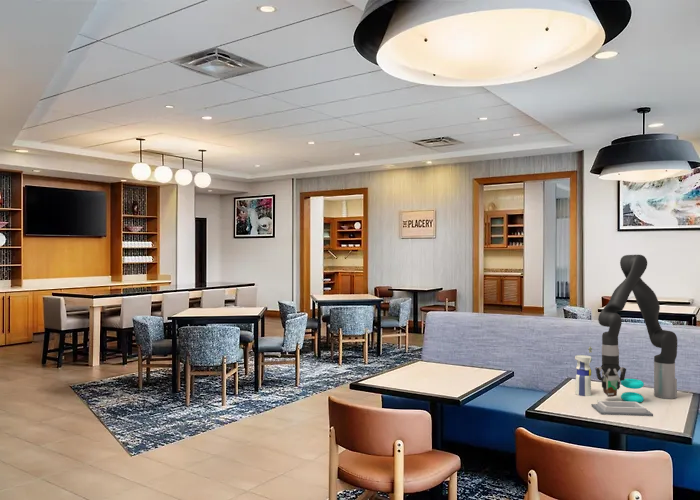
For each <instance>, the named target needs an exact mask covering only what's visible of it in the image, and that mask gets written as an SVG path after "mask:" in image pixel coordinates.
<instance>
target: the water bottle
mask: <svg viewBox="0 0 700 500" xmlns="http://www.w3.org/2000/svg"><path fill="white" fill-rule="evenodd" d="M588 350H589V351H588V353H593V351H592V350H593V348H592V347H591V346H589V348H588ZM574 360H576V363H577V364H576V367H575V369H576V375H575V391H574V395H577V396H579V397H591V396H592V377H591V376H592V369H591V366H590V363H592V360H593V359H592V356H590V355H586V354H585V355H584V354H576V355H575V356H574Z"/></svg>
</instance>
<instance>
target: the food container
mask: <svg viewBox="0 0 700 500" xmlns="http://www.w3.org/2000/svg"><path fill="white" fill-rule="evenodd" d="M603 372H604V371H603V370H601V377H602V376H603ZM619 378H620V375H619V373H618V374H617V375H616V376H615V375H608V376H606V381H605V382H606V389H603V388H602V392H603V393H604V394H605V395H606V396H607V398H608V397H610V398H611V397H616V396H617V394H618V389H617V381H618V379H619Z"/></svg>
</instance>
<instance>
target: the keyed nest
mask: <svg viewBox="0 0 700 500" xmlns="http://www.w3.org/2000/svg"><path fill="white" fill-rule="evenodd" d="M590 406H591V407H592V408H593V409H594V410H595V411H596V412H598V413H599V414H600V415H604V416H605V415H606V416H633V417H635V416H637V417H638V416H639V417H654V413H652V412H651V411H650V410H649V409H647V408H646V407H645V406H644V405H642V404H641V403H638V402H627V401H624V400H623V401H621V400H620V401H619V400H597V403H591V405H590Z"/></svg>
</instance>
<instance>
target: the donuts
mask: <svg viewBox="0 0 700 500" xmlns="http://www.w3.org/2000/svg"><path fill="white" fill-rule="evenodd" d="M620 385H622V386H623V387H624V388H626V389H630V390H631V389H633V390H639V389H641V388H644V385H645V384H644V382H643V380H640V379H636V378H624V380H622V381H620ZM644 397H645V396H643V395H642V394H640V393H638V392H633V391H625V392H623V393H622V394H621V395H620V398H621V400H623V401H627V402H638V403H639V404H641V403H642V402H643V401H644V399H645V398H644Z"/></svg>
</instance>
